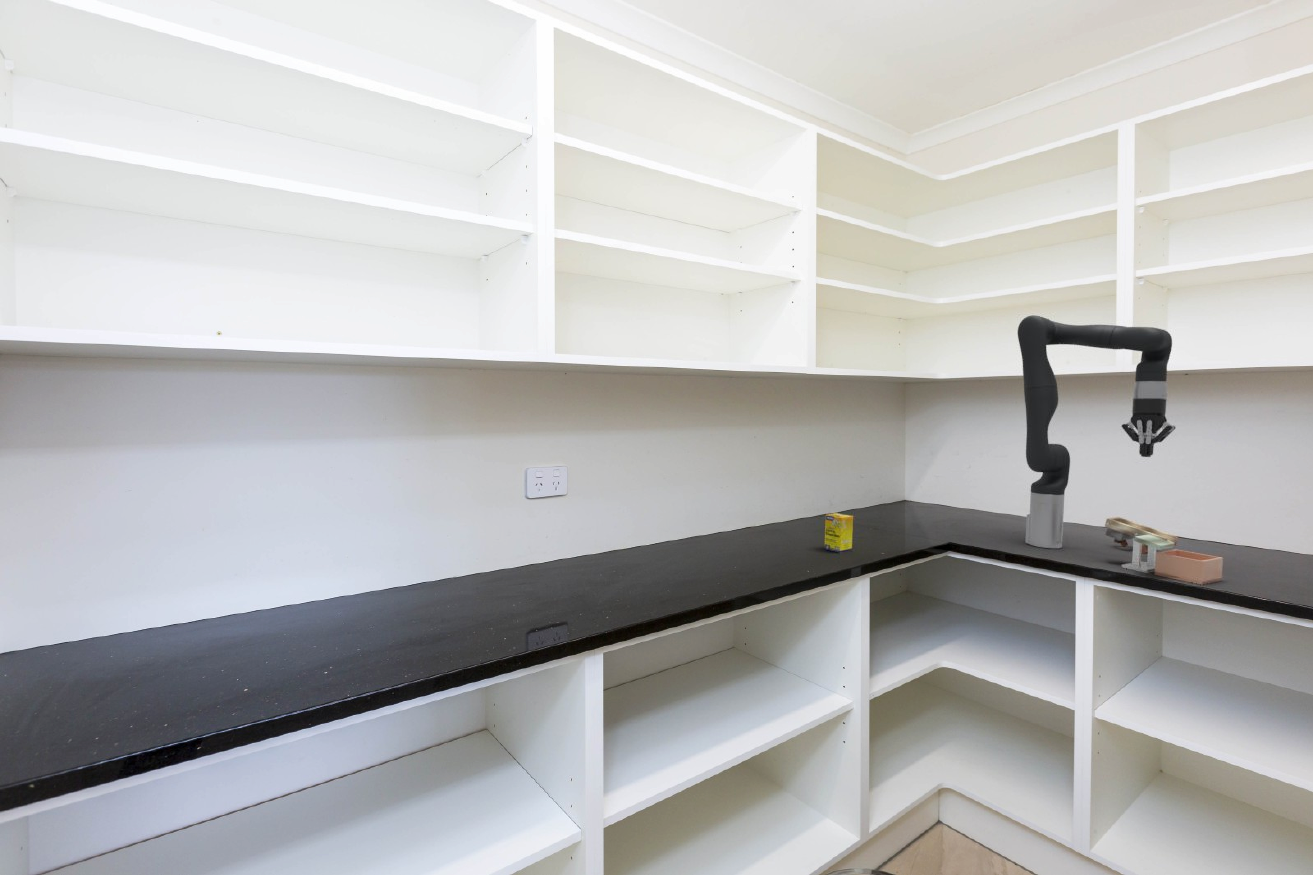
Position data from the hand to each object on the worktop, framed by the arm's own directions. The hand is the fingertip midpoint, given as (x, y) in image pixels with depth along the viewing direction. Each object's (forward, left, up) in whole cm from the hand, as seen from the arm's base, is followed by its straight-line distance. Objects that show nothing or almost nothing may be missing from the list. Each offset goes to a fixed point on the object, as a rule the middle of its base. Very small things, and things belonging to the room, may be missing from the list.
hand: (1146, 456), depth 175 cm
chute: (+4, -12, -24) cm, 28 cm away
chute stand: (+5, -9, -31) cm, 32 cm away
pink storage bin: (+15, -9, -31) cm, 35 cm away
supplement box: (-45, -74, -31) cm, 92 cm away
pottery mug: (-9, +16, -31) cm, 36 cm away
